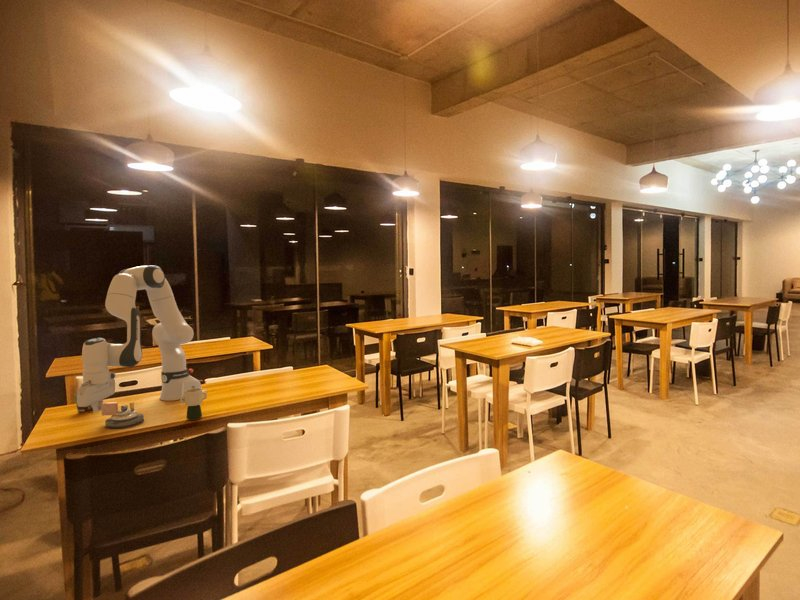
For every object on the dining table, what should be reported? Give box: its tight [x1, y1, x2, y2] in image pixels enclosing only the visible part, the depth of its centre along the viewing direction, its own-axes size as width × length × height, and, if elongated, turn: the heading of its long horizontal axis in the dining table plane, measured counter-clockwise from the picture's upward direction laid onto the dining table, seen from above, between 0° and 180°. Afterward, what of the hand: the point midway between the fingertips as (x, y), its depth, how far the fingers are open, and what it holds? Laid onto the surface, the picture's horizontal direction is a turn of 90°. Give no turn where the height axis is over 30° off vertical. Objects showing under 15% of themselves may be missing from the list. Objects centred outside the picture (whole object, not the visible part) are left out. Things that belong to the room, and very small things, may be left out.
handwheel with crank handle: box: [104, 402, 145, 430], centre depth 189 cm, size 14×14×8 cm
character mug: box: [179, 387, 208, 421], centre depth 193 cm, size 11×7×13 cm, turn 128°
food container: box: [73, 391, 93, 414], centre depth 207 cm, size 12×6×10 cm, turn 168°
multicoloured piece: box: [101, 401, 139, 422], centre depth 189 cm, size 14×10×7 cm
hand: (97, 411), depth 182 cm, fingers closed
